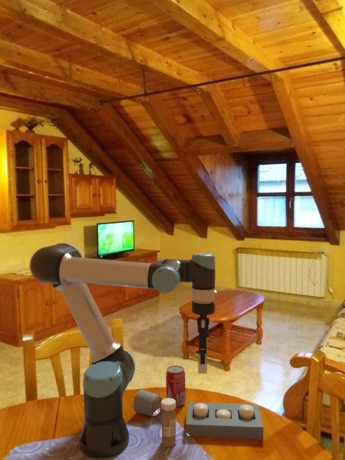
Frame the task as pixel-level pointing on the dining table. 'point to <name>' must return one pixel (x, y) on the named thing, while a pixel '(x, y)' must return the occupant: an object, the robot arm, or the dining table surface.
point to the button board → (224, 423)
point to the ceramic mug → (146, 402)
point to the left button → (201, 410)
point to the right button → (246, 412)
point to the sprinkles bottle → (168, 422)
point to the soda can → (176, 384)
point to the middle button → (223, 414)
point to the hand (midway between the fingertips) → (202, 364)
